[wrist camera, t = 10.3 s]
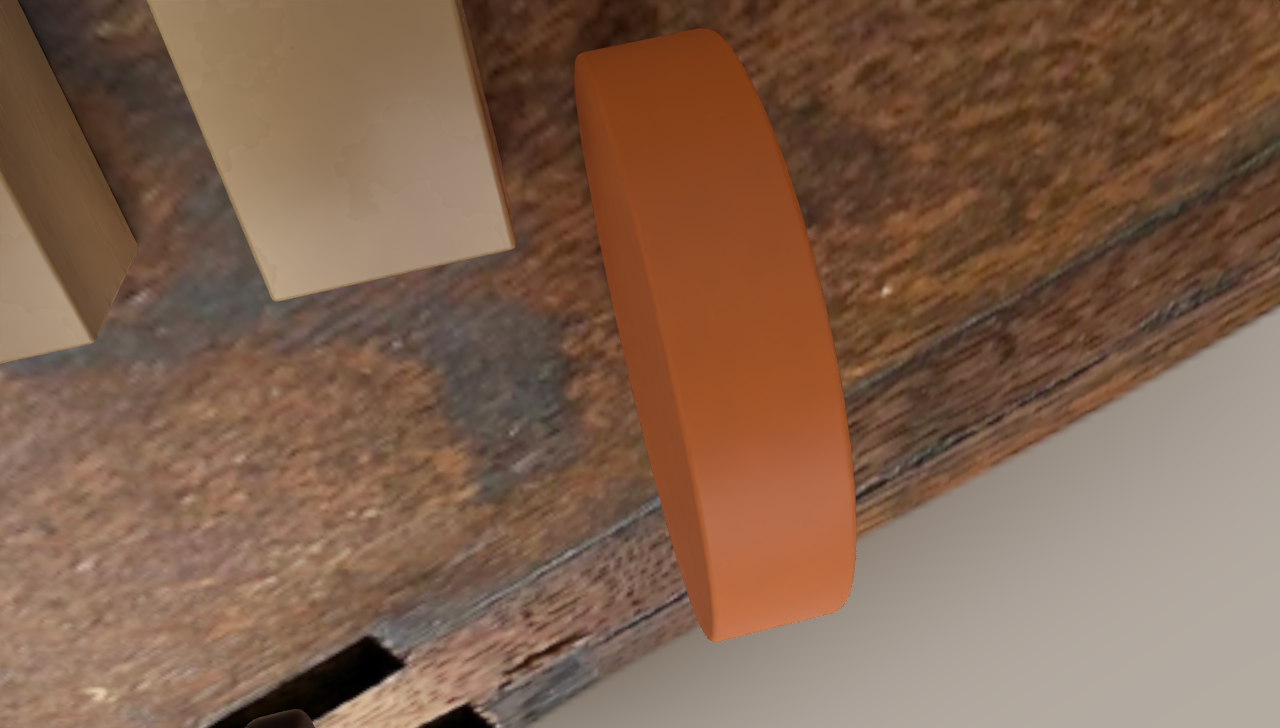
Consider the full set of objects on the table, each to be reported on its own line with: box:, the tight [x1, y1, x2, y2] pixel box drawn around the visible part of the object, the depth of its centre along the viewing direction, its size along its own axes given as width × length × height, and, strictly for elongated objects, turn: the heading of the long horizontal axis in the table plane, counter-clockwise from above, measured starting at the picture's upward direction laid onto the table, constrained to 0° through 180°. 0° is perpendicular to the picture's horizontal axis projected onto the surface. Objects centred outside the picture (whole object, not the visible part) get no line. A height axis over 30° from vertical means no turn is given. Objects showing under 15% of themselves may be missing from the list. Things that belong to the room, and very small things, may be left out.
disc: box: [574, 28, 857, 642], centre depth 13 cm, size 2×7×7 cm, turn 9°
